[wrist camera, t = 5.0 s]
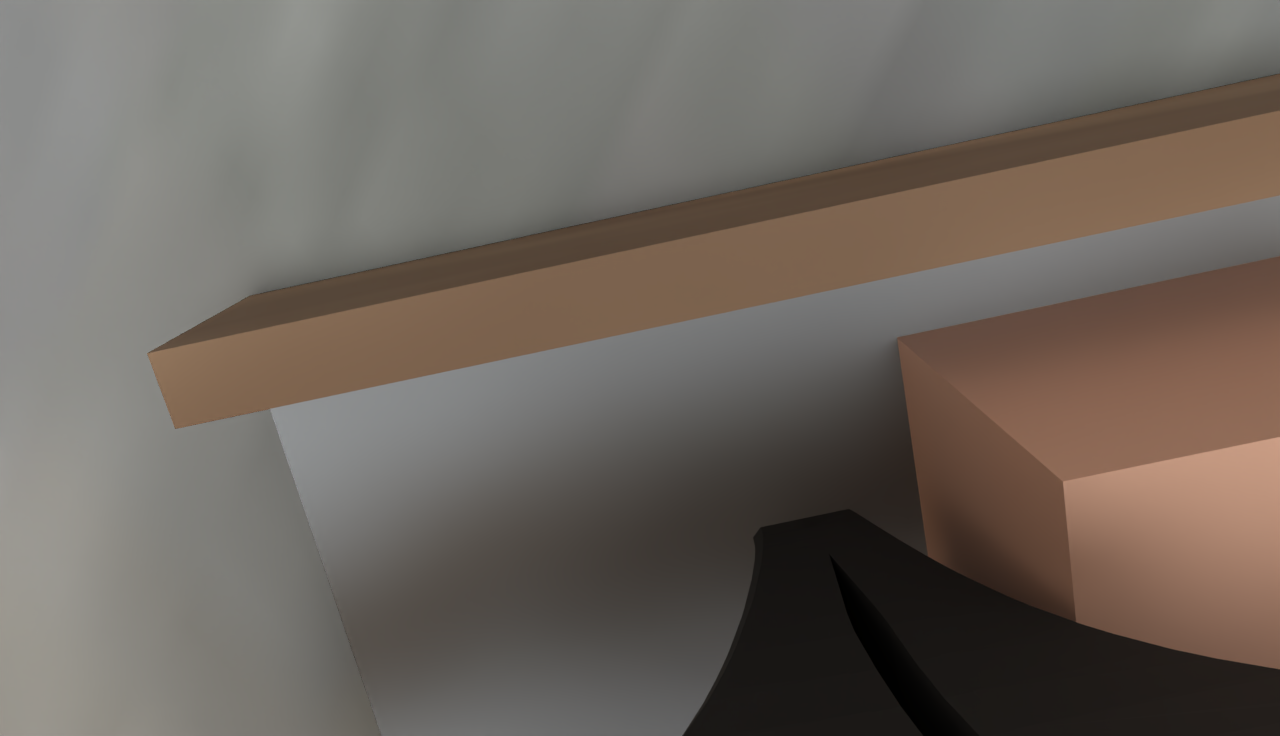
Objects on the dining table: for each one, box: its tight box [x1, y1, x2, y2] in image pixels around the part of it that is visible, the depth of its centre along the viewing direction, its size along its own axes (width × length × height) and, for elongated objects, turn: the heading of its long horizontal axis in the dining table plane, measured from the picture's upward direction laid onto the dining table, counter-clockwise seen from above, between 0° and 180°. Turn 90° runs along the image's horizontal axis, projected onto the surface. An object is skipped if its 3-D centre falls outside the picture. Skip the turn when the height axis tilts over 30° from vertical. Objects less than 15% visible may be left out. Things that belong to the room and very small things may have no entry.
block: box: [897, 256, 1280, 669], centre depth 10 cm, size 5×5×4 cm
